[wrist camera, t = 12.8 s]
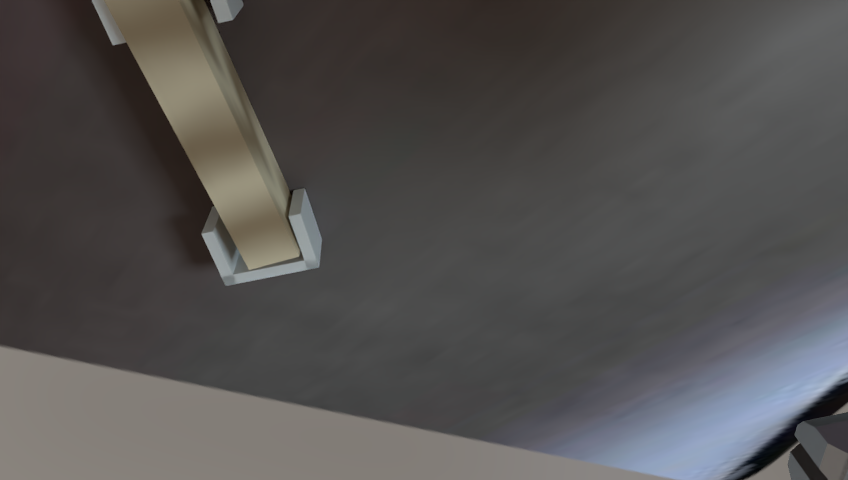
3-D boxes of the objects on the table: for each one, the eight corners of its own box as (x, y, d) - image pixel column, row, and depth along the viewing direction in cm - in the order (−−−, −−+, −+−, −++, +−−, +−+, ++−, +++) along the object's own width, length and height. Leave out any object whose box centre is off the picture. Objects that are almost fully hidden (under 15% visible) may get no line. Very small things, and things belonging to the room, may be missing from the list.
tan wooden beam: (128, -24, 34) (100, -7, 30) (187, -42, 33) (165, -27, 30) (258, 233, 43) (249, 270, 40) (304, 220, 43) (299, 256, 40)
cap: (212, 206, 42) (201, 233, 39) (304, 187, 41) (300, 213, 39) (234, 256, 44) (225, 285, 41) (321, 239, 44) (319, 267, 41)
